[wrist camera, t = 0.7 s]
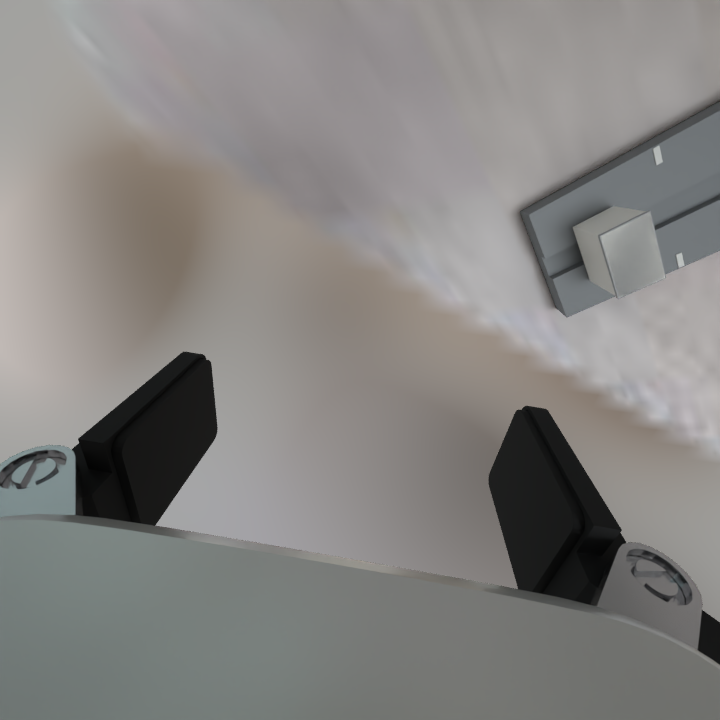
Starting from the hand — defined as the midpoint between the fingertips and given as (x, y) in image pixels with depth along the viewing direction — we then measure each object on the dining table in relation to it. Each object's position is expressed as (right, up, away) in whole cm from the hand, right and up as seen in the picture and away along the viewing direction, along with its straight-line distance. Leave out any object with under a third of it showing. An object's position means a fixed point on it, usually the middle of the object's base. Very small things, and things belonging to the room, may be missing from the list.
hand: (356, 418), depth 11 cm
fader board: (+24, +14, +18) cm, 33 cm away
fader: (+20, +11, +18) cm, 29 cm away
